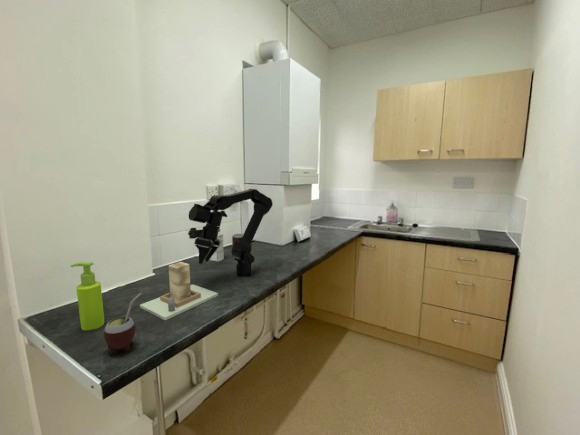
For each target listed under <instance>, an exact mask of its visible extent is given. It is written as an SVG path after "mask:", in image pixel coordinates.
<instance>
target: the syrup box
mask: <svg viewBox="0 0 580 435" xmlns="http://www.w3.org/2000/svg"><path fill="white" fill-rule="evenodd" d="M217 239H219V240H220V241H221V244H220V246H217V245H216V246H217V247H219V248H218V249H217V250H216V251H215V253H214V254H213V255H212V257H211V258H210V260H209V261H210V262H211V261H212V262H216V263H217V262H221V261H222V260H224V259H225V258H224V256H225V255H224V254H225V253H224V233H221V232H219V233H218V237H217Z"/></svg>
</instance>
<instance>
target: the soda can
mask: <svg viewBox="0 0 580 435" xmlns="http://www.w3.org/2000/svg"><path fill="white" fill-rule="evenodd" d="M243 234H244V233H235V234H233V235H232V236H231V239H232V241H231V242H232V243H231V244H232V247H233V245H234V242H235V241H240V240H241V239H242V237H243ZM232 247H231V248H232Z"/></svg>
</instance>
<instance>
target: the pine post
mask: <svg viewBox="0 0 580 435" xmlns="http://www.w3.org/2000/svg"><path fill="white" fill-rule="evenodd" d="M190 268H191V267H190V264H189V263H186V262H183V261H178V262H175V263H173V264H169V265H168V278H169V279H168V280H169V282H168V283H169V293H170V298H174V301H176V302H179V301H181V300H183V299H186V298H188V297H190V296H191V289H190V285H191V274H190V270H191V269H190Z"/></svg>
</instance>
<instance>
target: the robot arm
mask: <svg viewBox="0 0 580 435" xmlns="http://www.w3.org/2000/svg"><path fill="white" fill-rule="evenodd" d="M247 200H250V201H251V202H252V203H253V213H252V215H251V218H250V220H249V221H248V223H247V225H246V228H245V231H244V233H242V234H243V237H242V239H241V240H240V241H235V242H234V245H233V247H230V249H231V251H230V253H231V256H232V257H233V259H234V261H237V263H236V265H235V267H236V268H235V269H236V271H235V272H236V275H237V278H238V277H252V276H253V273H252V264H253V263H254V262H255V258H256V257H255V256H254V255H252V249H253V248H252V242H253V240H254V238H255V235H256V233H257V231H258V229H259V227H260V224H261V223H262V220H263V218H264V216H265V215H267V214H268V213H269V212H270V210H271V209H272V207H273V200H272V198H271V197H270V196H269V197H268V196H267V195H266V194H264V193H262V192H260V191H259V190H258V189H256V188H249V189H246V190H241V191H239V192H234V193H230V194H219V195H212V196H211V197H210V198H209V201H207V202H205V204H204V205H202V204H200V203H194V204H193V206H192V207H191V209H190V210H189V211H188V220H189V221H192V222H197V223H200V224H205V225H204V226H202V229H197V228H196V227H190V229H189V230H188V233H187V236H189V239H194V245H195V247H196V248H197V249H198V263H199V264H200V265H202V264H203V263H204V262H209V261H210V258H211V257H212V255H213V254H214V253H215V251H216V250H217V249H218V248H219V247H217V246H220V244H221V241H220V240H219V239H217V237H218V233H221V228H220V227H221V225H222V220H223V218H228V214H226V211H225V210H227V209H229V208H231V207H232V206H233V205H234V204H237V203H240V202H241V203H242V202H244V201H247ZM216 245H217V246H216ZM199 264H198V265H199Z"/></svg>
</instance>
